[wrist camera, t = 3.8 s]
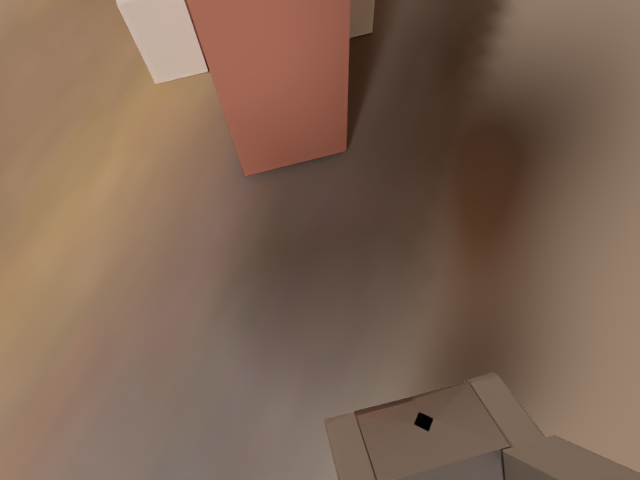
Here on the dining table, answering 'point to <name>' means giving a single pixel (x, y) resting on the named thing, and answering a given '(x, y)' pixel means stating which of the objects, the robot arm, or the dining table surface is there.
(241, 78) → the plug
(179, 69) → the dock
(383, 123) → the dining table surface
